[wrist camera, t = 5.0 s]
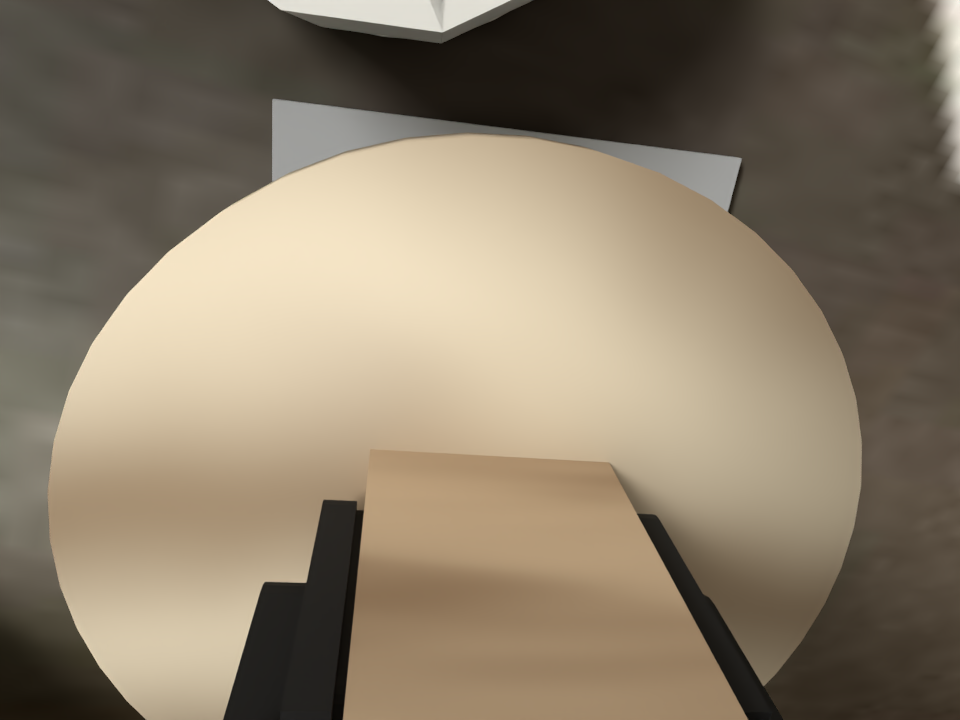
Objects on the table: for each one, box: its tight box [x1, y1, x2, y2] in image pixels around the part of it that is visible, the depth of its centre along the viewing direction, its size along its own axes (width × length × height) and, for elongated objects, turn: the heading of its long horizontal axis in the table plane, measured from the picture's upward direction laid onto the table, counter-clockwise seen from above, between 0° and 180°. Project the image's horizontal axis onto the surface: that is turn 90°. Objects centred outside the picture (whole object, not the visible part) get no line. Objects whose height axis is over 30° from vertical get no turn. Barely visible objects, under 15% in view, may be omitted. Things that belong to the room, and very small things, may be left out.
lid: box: [48, 132, 862, 720], centre depth 9 cm, size 14×14×7 cm
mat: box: [272, 99, 741, 212], centre depth 22 cm, size 12×14×1 cm
